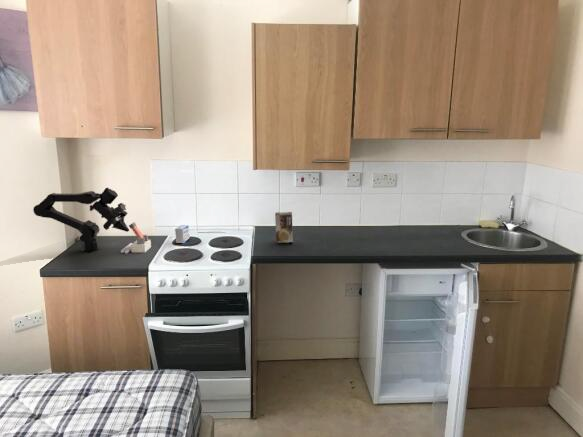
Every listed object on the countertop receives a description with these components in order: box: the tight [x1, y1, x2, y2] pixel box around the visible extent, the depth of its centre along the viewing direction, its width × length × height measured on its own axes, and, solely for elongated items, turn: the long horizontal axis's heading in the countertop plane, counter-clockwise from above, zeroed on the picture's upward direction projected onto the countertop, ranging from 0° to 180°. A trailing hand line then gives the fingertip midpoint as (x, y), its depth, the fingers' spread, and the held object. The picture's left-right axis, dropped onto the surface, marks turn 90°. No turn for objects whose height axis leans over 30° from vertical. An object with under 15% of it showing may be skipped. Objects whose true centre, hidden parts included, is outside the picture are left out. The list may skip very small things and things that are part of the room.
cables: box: [120, 242, 134, 255], centre depth 234 cm, size 15×4×2 cm, turn 178°
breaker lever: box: [128, 222, 145, 239], centre depth 232 cm, size 2×3×10 cm
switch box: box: [131, 234, 152, 253], centre depth 233 cm, size 7×9×7 cm
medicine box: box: [174, 224, 190, 244], centre depth 245 cm, size 8×4×9 cm, turn 168°
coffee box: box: [274, 211, 294, 243], centre depth 240 cm, size 9×6×16 cm
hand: (128, 231), depth 232 cm, fingers closed
